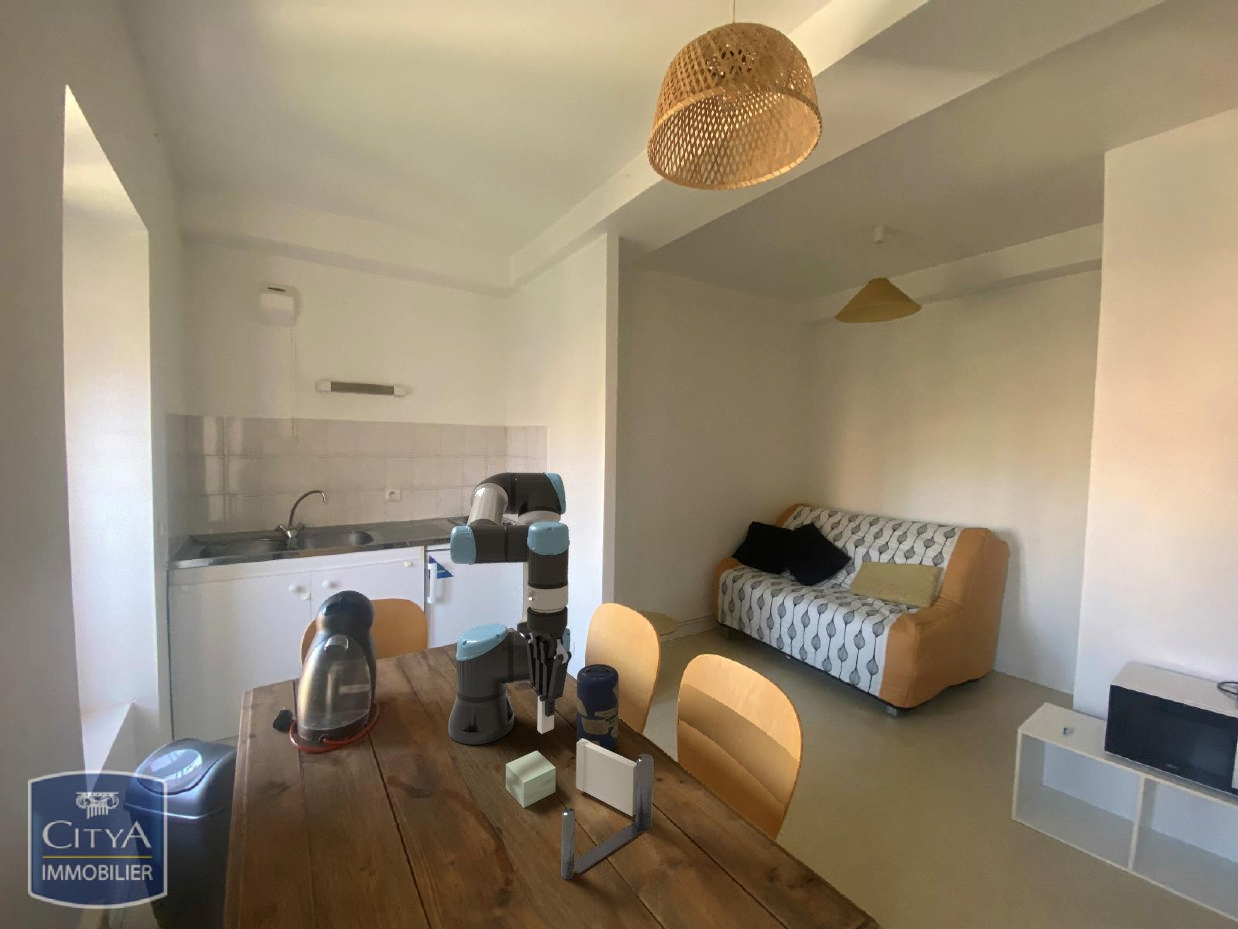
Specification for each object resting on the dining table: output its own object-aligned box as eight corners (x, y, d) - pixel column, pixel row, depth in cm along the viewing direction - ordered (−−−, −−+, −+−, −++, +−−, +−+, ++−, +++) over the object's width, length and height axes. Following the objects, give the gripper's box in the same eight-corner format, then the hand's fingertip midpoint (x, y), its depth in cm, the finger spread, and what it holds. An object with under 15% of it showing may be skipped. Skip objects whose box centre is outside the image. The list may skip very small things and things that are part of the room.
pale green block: (505, 789, 98) (505, 764, 98) (536, 774, 103) (536, 750, 103) (523, 809, 93) (523, 782, 93) (555, 792, 97) (555, 767, 97)
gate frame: (556, 871, 79) (558, 797, 79) (644, 815, 92) (645, 751, 91) (567, 884, 77) (569, 808, 76) (655, 825, 89) (657, 759, 89)
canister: (612, 761, 107) (614, 678, 107) (570, 754, 109) (571, 673, 108) (621, 736, 117) (623, 660, 116) (582, 730, 118) (583, 656, 118)
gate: (637, 811, 91) (638, 763, 91) (631, 817, 90) (632, 768, 89) (581, 782, 99) (582, 738, 98) (575, 787, 97) (576, 742, 97)
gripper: (512, 600, 95) (510, 721, 96) (549, 621, 85) (547, 754, 87) (546, 593, 100) (544, 708, 101) (584, 611, 90) (582, 738, 91)
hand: (545, 729), depth 94 cm, fingers closed
